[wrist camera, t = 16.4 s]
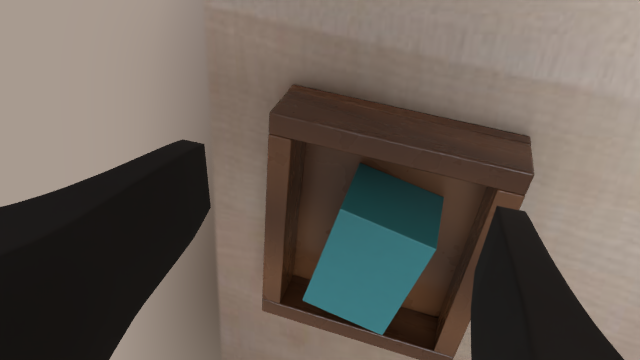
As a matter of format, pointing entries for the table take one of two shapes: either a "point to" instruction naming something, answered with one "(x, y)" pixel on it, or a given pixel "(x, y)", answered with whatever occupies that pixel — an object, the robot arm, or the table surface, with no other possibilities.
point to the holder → (405, 164)
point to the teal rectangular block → (375, 249)
